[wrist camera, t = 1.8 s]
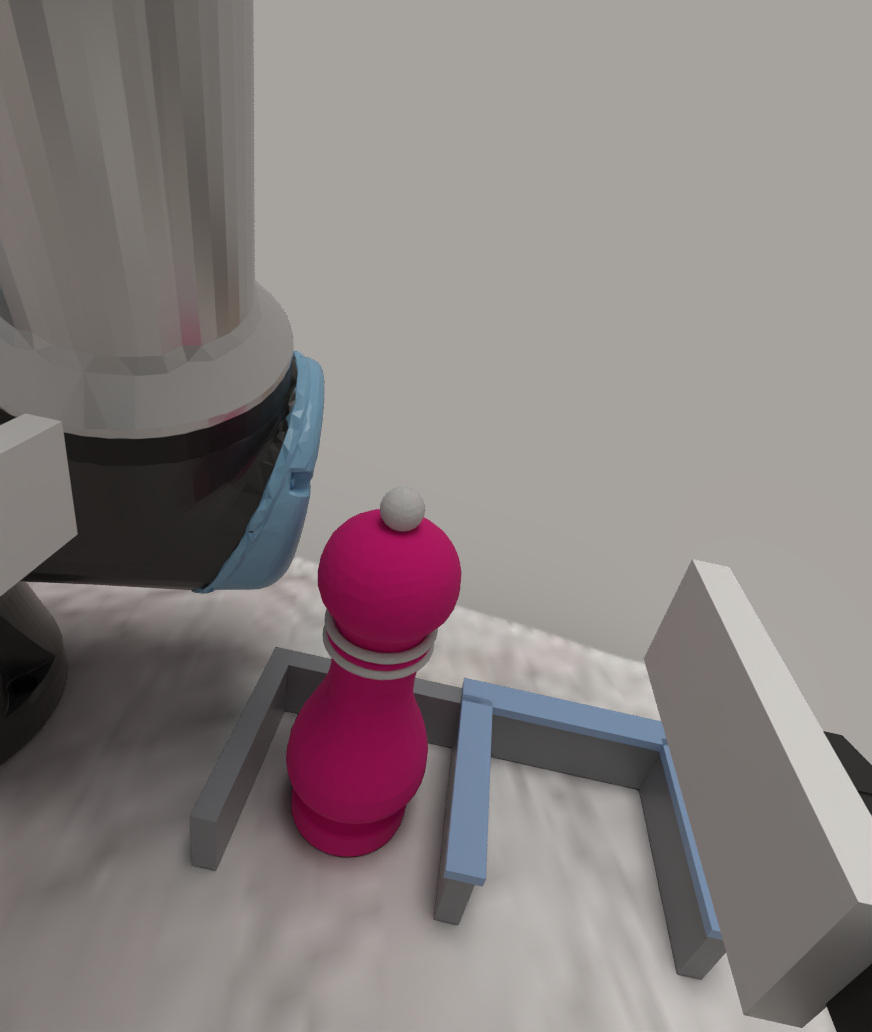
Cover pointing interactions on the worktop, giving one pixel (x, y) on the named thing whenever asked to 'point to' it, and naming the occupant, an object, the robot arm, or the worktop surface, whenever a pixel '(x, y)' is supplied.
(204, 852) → the divider rack
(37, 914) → the worktop surface
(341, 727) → the pepper mill
